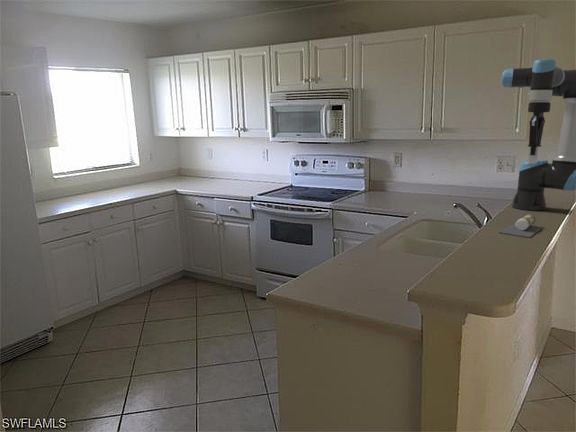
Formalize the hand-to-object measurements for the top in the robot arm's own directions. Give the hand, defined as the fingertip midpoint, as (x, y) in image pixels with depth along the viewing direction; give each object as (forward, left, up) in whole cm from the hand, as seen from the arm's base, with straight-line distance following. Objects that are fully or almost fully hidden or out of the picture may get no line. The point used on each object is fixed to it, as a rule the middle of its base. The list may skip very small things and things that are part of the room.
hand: (532, 163), depth 189 cm
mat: (+4, 0, -26) cm, 27 cm away
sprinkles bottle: (-7, 0, -24) cm, 25 cm away
